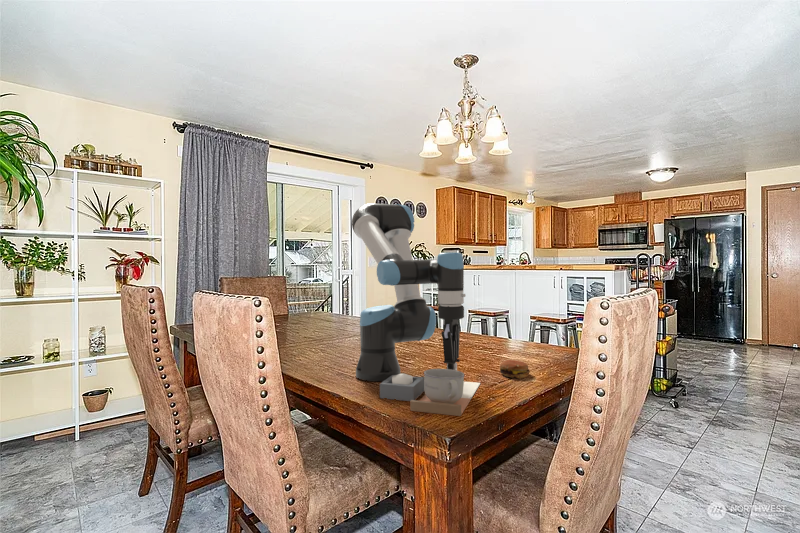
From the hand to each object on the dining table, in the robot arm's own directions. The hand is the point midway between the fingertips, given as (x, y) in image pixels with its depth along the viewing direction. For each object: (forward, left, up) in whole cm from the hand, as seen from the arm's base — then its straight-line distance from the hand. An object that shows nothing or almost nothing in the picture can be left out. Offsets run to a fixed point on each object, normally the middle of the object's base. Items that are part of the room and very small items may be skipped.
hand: (452, 384), depth 122 cm
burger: (+16, +23, -2) cm, 28 cm away
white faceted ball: (-13, -8, -2) cm, 15 cm away
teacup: (+1, -13, -2) cm, 13 cm away
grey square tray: (-13, -8, -2) cm, 15 cm away
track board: (0, -5, -2) cm, 5 cm away
